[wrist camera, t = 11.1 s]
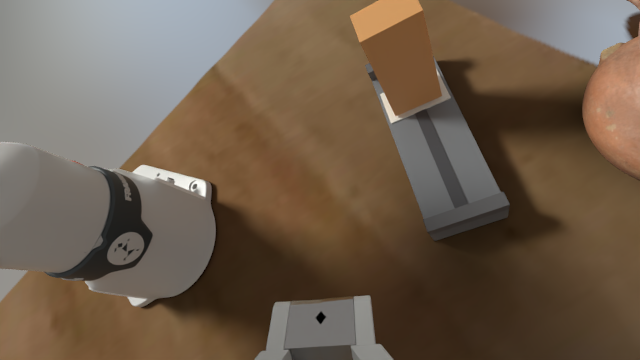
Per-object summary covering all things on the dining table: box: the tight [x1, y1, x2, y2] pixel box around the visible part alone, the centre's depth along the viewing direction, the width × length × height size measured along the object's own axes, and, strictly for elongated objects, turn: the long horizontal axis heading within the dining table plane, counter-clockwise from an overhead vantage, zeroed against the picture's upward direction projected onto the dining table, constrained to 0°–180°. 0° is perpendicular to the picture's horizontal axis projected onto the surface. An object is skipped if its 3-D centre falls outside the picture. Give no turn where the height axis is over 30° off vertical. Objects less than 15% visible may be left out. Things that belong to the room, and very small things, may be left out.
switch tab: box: [350, 0, 442, 116], centre depth 33 cm, size 3×5×12 cm, turn 104°
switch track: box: [365, 56, 510, 241], centre depth 37 cm, size 20×7×4 cm, turn 14°
